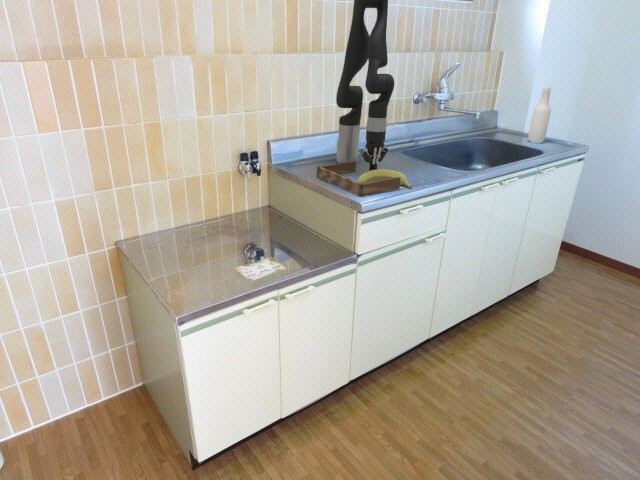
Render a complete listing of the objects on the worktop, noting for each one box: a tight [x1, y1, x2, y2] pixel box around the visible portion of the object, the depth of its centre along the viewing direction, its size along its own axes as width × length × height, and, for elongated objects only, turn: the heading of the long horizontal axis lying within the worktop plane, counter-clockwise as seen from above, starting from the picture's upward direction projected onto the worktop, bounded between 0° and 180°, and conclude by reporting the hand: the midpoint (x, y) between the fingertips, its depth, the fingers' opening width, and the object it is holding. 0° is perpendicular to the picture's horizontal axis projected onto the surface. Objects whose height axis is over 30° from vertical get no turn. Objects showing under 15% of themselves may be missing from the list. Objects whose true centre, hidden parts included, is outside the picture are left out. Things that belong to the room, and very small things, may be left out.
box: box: [316, 161, 401, 197], centre depth 178 cm, size 28×19×4 cm
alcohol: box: [527, 86, 552, 141], centre depth 255 cm, size 9×9×30 cm
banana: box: [356, 168, 413, 189], centre depth 177 cm, size 14×6×20 cm
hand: (372, 172), depth 182 cm, fingers closed
